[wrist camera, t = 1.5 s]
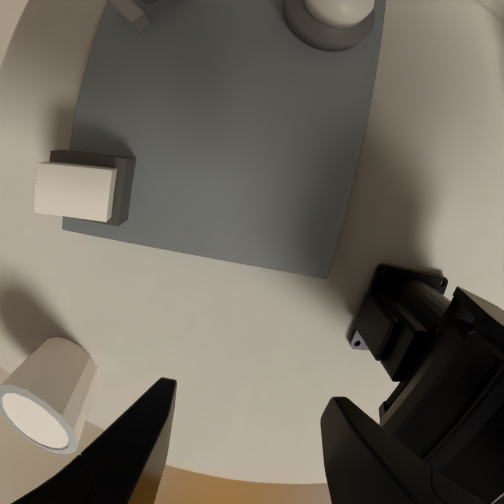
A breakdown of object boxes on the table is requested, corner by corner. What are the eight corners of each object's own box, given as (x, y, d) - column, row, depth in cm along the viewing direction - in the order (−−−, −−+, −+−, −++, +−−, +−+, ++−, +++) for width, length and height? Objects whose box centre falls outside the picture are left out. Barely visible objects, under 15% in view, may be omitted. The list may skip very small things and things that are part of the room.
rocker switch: (117, 168, 14) (112, 170, 13) (111, 217, 14) (106, 222, 13) (45, 161, 13) (37, 163, 12) (42, 208, 13) (34, 212, 12)
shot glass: (24, 328, 20) (-21, 378, 13) (90, 330, 20) (50, 392, 13) (53, 392, 22) (22, 445, 15) (116, 399, 22) (93, 462, 16)
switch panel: (376, 8, 14) (396, -10, 11) (320, 269, 19) (334, 290, 17) (130, -35, 12) (117, -57, 9) (69, 223, 18) (45, 235, 15)
